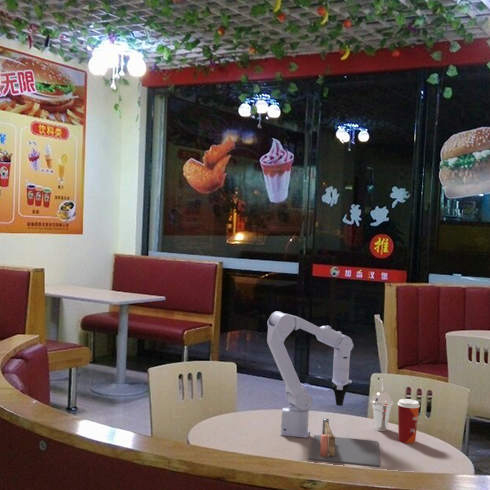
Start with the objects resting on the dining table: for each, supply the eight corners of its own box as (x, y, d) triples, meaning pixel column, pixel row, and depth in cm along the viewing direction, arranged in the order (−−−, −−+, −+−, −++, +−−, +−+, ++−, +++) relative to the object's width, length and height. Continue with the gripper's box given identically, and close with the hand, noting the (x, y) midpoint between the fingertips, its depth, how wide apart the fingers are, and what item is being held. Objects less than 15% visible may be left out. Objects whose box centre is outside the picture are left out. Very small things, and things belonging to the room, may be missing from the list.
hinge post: (321, 441, 229) (322, 419, 229) (322, 439, 231) (323, 418, 231) (327, 442, 229) (328, 420, 229) (328, 440, 231) (329, 418, 231)
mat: (308, 459, 211) (308, 457, 211) (314, 436, 235) (314, 434, 235) (379, 466, 207) (379, 465, 207) (378, 442, 231) (378, 441, 231)
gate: (323, 439, 228) (323, 421, 228) (328, 439, 228) (329, 422, 228) (328, 455, 213) (329, 436, 212) (334, 455, 213) (335, 436, 212)
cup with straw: (397, 430, 245) (399, 376, 245) (379, 434, 240) (382, 379, 240) (380, 424, 252) (382, 371, 252) (362, 427, 247) (365, 374, 247)
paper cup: (418, 445, 229) (420, 405, 229) (395, 443, 231) (397, 403, 231) (417, 438, 237) (419, 399, 237) (395, 436, 239) (397, 397, 238)
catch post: (319, 458, 213) (320, 436, 213) (320, 455, 215) (321, 434, 215) (327, 458, 212) (328, 437, 212) (327, 456, 215) (328, 434, 214)
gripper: (351, 373, 234) (350, 411, 234) (352, 364, 248) (351, 401, 248) (331, 371, 235) (329, 409, 235) (333, 363, 249) (331, 399, 250)
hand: (339, 405), depth 242 cm, fingers closed
